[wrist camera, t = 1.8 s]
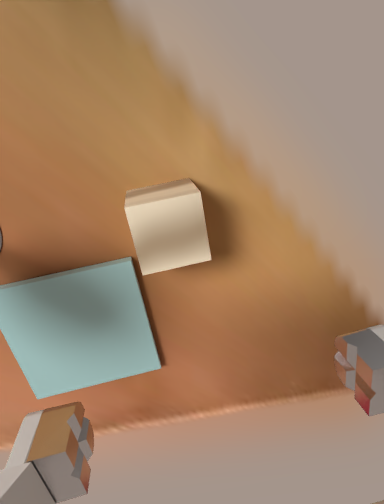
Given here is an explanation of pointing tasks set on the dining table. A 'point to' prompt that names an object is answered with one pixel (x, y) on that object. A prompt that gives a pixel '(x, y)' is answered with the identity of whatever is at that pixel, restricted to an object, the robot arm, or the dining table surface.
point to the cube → (167, 225)
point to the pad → (78, 327)
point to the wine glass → (0, 240)
